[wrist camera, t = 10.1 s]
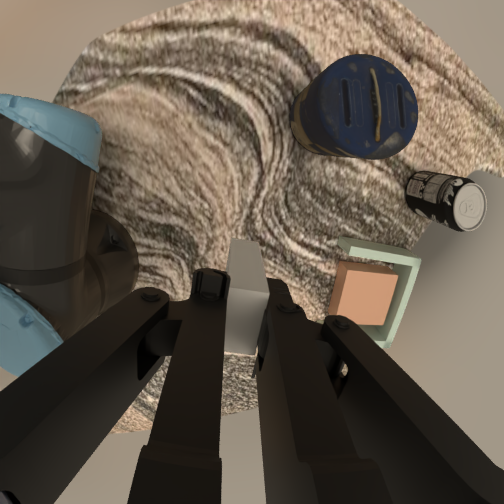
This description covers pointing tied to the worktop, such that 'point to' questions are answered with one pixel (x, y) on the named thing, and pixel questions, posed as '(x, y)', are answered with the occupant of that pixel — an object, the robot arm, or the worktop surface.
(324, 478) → the robot arm
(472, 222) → the beverage can
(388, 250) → the green u-shaped bracket
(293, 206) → the worktop surface
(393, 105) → the canister
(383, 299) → the orange block
